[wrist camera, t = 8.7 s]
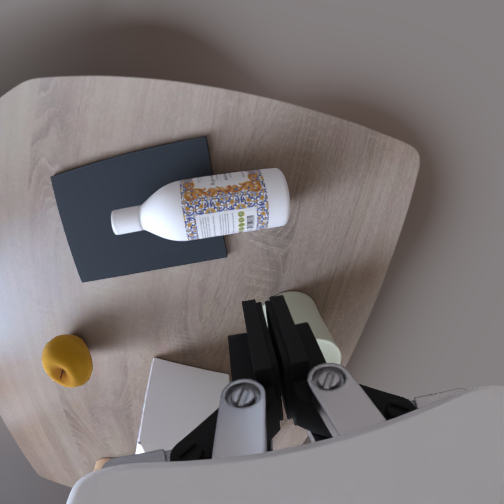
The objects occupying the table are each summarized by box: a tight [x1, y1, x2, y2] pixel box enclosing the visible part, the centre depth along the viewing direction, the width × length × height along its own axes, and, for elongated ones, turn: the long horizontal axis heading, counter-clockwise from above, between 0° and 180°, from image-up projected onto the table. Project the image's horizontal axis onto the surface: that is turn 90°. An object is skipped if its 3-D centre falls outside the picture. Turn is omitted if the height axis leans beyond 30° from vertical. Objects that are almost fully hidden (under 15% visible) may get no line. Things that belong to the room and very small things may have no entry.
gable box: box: [135, 358, 230, 454], centre depth 39 cm, size 22×13×28 cm, turn 160°
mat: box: [51, 136, 227, 282], centre depth 38 cm, size 22×16×1 cm
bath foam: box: [111, 168, 290, 241], centre depth 34 cm, size 7×7×20 cm
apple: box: [42, 334, 93, 387], centre depth 40 cm, size 9×9×9 cm
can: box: [262, 291, 342, 364], centre depth 41 cm, size 9×9×12 cm
